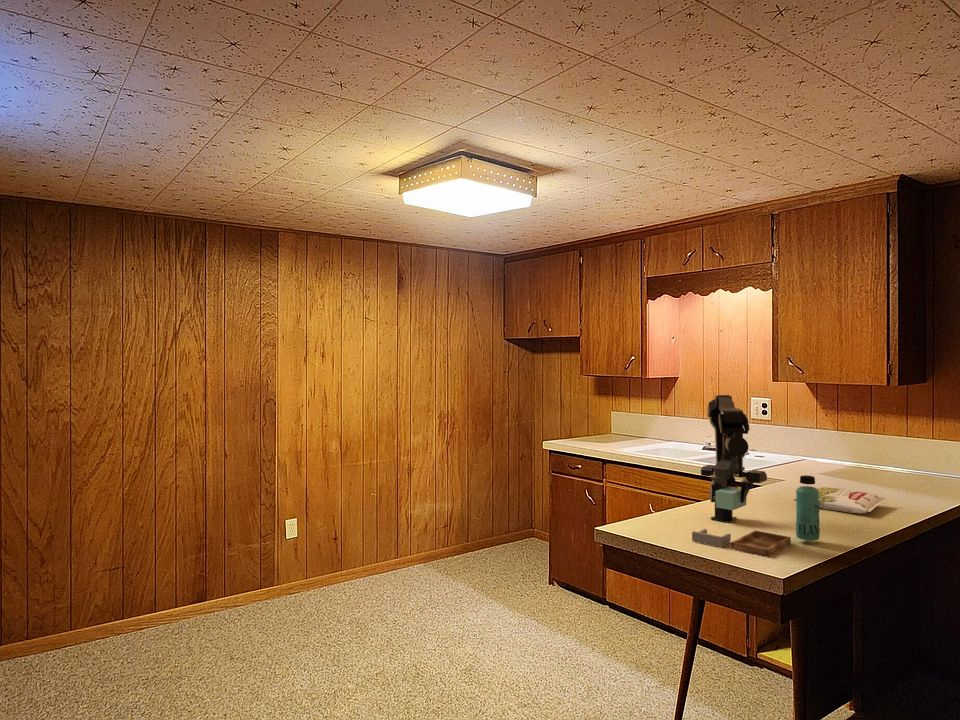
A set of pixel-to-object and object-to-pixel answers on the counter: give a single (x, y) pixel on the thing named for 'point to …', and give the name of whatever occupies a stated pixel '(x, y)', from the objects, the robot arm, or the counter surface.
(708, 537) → the dock
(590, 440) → the counter surface
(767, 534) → the tray
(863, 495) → the frozen beans
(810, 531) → the beverage bottle
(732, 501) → the mint rectangular block
